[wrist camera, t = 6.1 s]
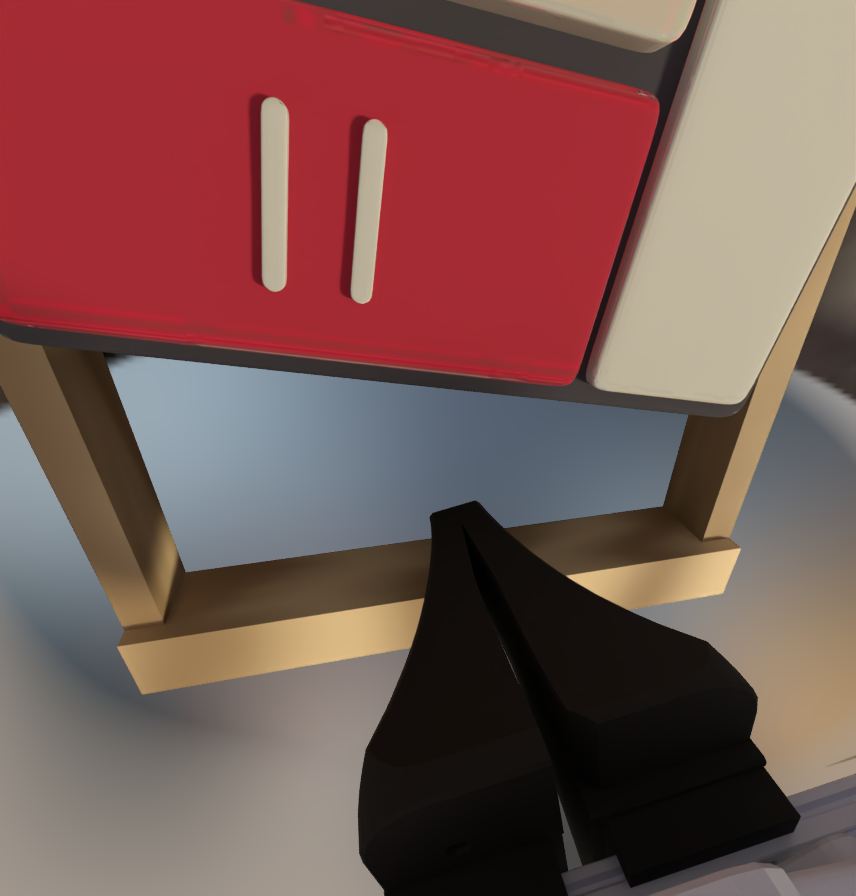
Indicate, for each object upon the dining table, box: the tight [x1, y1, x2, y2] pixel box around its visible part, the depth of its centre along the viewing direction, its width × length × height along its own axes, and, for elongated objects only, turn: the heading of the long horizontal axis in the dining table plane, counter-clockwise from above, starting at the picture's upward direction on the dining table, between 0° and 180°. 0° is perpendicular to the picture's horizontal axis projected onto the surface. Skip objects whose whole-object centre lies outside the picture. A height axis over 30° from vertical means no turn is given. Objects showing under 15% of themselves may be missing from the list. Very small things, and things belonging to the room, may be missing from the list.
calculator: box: [0, 0, 856, 417], centre depth 8 cm, size 11×4×15 cm
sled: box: [0, 187, 856, 694], centre depth 10 cm, size 18×21×2 cm
